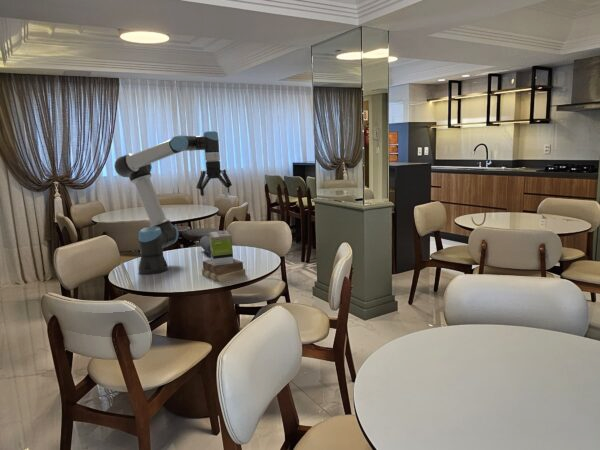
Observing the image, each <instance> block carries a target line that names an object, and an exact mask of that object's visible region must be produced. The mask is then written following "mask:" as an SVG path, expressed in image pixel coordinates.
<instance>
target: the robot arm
mask: <svg viewBox="0 0 600 450" xmlns="http://www.w3.org/2000/svg"><path fill="white" fill-rule="evenodd" d="M219 141H220V140H219V133H218V132H217V131H215V130H213V131H212V130H209V131H207V130H206V131H204V132H203V135H181V134H178V135H174V136H172V138H171V139H168V140H166V141H164V142H161V143H158V144H156V145H153V146H150V147H147V148H146V149H143V150H141V151H139V152H136V153H135V152H134V153H133V154H132V153H127V154H125V155H122V156H119V157H118V158H117V159H116V160H115V162H114V170H115V172H116V173H117V174H118V175H119V176H120V177H123V178H129V181H130V182H131V183H132V184H134V185H135V187H136V190H137V193H138V195H139V197H140V200H141V202H142V205H143V207H144V210H145V211H146V215H147V218H148V219H149V222H150V226H148V227H143V228H142V229H140V230H139V231H138V245H139V253H140V261H139V264H138V273H139V274H142V275H155V274H161V273H163V272H166V271H168V269H169V268H168V263H167V260H166V259H165V256H164V249H163V248H166V247H167V248H168V247H169V246H172V245H173V244H175V243H176V242H177V241H178V238H179V230H178V228H177V227H176V225H174V224H172V222H171V220H170V219H168V218H167V217H166V215H165V213H164V210H163V208H162V205H161V202H160V200H159V198H158V195H157V192H156V191H155V188H154V186H153V183H152V181H151V177H152V163H156V162H158V161H161V160H164V159H166V158H168V157H171V156H173V155H175V154H179V153H182V152H184V151H189V152H192V151H193V152H194V151H204V157H205V159H204V160H205V167H206V170H201V171H200V177H199V179H198V182H197V185H196V189H198V190H199V191H200V192H199V194H200V196H201V199H202V202H203V203H206V202H207V196H206V189H205V188H206V186H207V185H208V183H209V182H210V180H212V179H213V180H214V179H218V180H219V181H220V182H221V184H222V185H223V186H224V187H223V193H224V195H223V197H224V200H229V193H230V187H231V186H232V185H233V183H232V182H231V180H230V178H229V176H228V174H227V170H226V168H225V169H223V168H222V169H221V162H220V160H221V157H220V144H219V143H220V142H219Z"/></svg>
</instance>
